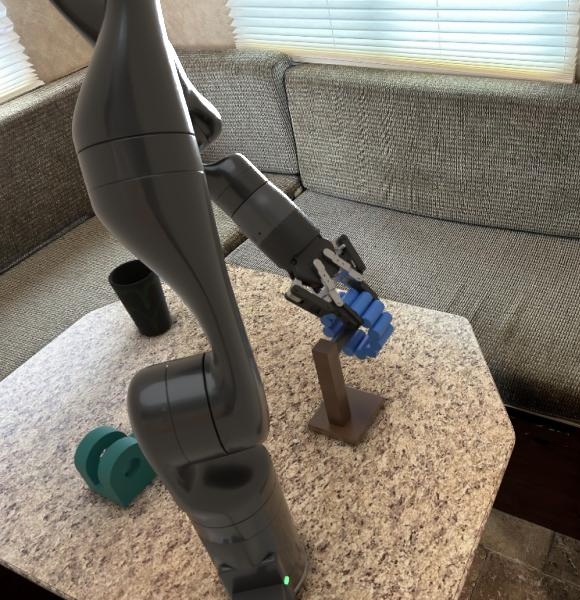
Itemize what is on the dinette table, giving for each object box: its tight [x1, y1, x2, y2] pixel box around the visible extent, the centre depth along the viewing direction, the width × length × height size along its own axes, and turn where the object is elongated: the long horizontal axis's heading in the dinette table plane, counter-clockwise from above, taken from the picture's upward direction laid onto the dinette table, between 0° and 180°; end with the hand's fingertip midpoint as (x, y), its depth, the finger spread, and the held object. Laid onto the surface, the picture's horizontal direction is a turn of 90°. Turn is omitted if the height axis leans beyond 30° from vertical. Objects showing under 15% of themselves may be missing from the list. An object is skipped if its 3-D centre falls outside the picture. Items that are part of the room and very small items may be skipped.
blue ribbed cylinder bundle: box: [319, 288, 395, 361], centre depth 85 cm, size 4×9×9 cm, turn 65°
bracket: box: [73, 425, 157, 509], centre depth 84 cm, size 18×7×8 cm, turn 152°
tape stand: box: [307, 307, 386, 447], centre depth 85 cm, size 14×8×16 cm, turn 154°
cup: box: [107, 258, 173, 338], centre depth 104 cm, size 8×8×12 cm
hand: (367, 315), depth 83 cm, fingers closed on blue ribbed cylinder bundle, 4 cm apart
